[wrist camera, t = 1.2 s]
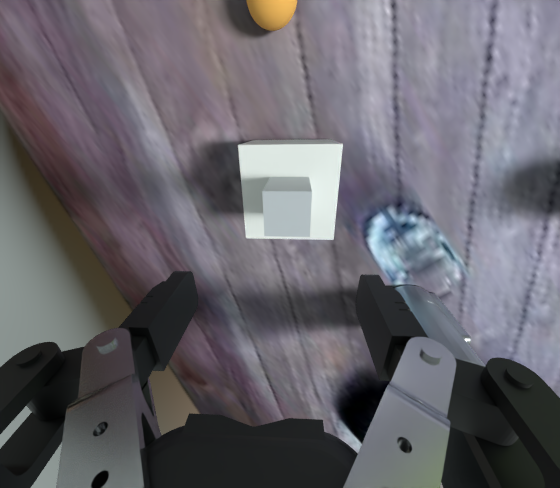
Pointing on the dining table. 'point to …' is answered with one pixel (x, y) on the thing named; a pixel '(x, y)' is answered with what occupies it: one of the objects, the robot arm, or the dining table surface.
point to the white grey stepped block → (290, 188)
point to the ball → (272, 12)
